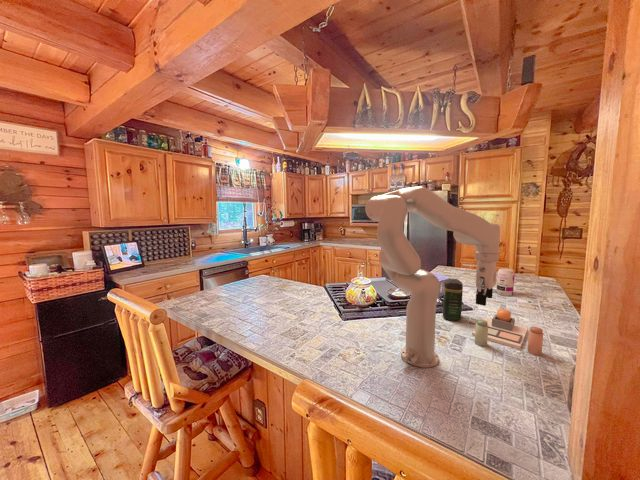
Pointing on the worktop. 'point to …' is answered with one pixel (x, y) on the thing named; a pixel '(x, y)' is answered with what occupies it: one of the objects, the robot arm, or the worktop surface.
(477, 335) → the cylinder
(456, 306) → the coffee jar
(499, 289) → the supplement can
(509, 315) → the button
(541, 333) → the peach cylinder
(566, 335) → the worktop surface
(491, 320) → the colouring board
